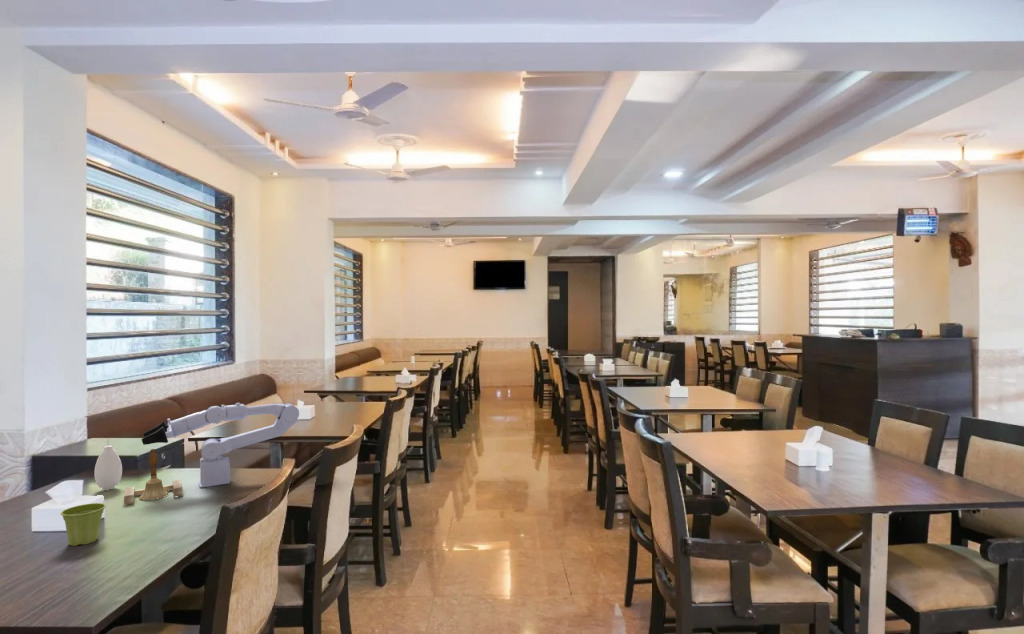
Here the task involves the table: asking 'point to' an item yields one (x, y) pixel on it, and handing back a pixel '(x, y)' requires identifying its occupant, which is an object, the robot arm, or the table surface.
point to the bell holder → (131, 491)
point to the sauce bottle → (108, 468)
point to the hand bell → (153, 481)
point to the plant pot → (83, 523)
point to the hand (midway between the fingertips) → (143, 439)
